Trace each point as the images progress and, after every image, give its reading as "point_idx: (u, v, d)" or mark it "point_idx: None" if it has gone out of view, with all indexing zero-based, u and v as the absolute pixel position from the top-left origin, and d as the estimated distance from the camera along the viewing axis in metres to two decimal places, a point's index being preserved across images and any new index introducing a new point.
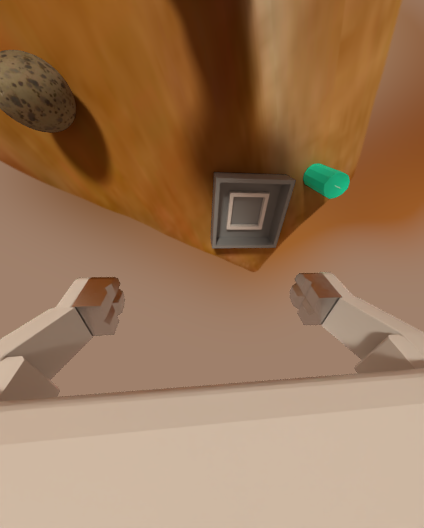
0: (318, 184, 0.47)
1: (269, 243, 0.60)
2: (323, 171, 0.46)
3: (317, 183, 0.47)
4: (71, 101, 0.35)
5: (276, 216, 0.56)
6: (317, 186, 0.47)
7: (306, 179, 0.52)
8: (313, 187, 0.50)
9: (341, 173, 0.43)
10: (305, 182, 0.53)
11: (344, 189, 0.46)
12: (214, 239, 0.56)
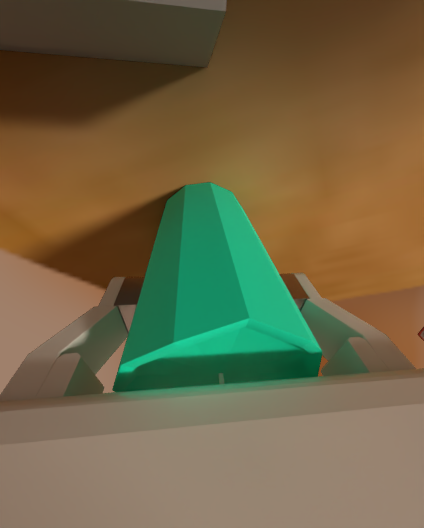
0: (203, 257, 0.06)
1: None
2: (268, 257, 0.08)
3: (208, 245, 0.06)
4: None
5: None
6: (188, 254, 0.06)
7: (192, 193, 0.11)
8: (168, 234, 0.08)
9: (308, 376, 0.06)
10: (177, 197, 0.11)
11: None
12: None
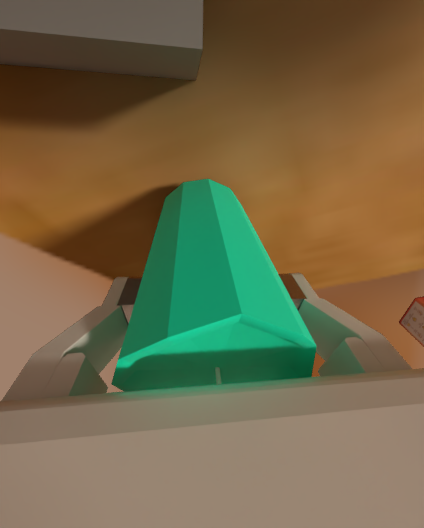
0: (199, 254, 0.06)
1: None
2: (265, 253, 0.08)
3: (204, 242, 0.06)
4: None
5: None
6: (184, 251, 0.06)
7: (190, 190, 0.11)
8: (165, 231, 0.08)
9: (303, 370, 0.06)
10: (175, 194, 0.11)
11: None
12: None
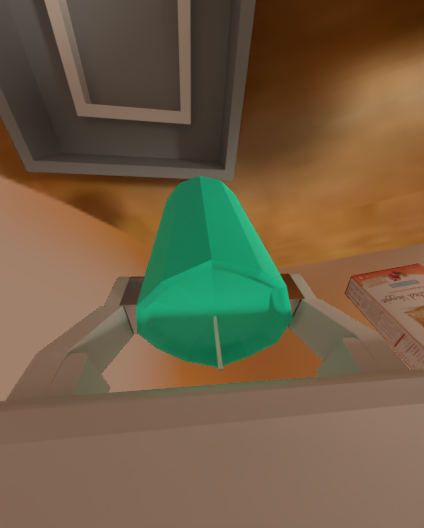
0: (187, 231, 0.08)
1: (35, 147, 0.18)
2: (247, 225, 0.09)
3: (191, 222, 0.08)
4: None
5: (131, 159, 0.21)
6: (176, 231, 0.08)
7: (184, 188, 0.12)
8: (165, 223, 0.10)
9: (284, 311, 0.07)
10: (173, 194, 0.13)
11: (208, 358, 0.09)
12: None
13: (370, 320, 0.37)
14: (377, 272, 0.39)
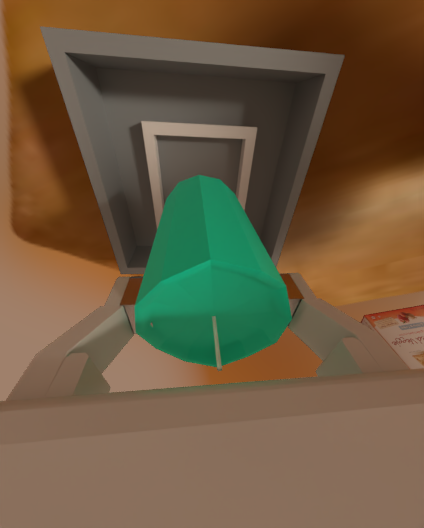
0: (186, 230, 0.07)
1: (127, 257, 0.24)
2: (246, 225, 0.09)
3: (190, 222, 0.08)
4: None
5: None
6: (175, 231, 0.08)
7: (183, 187, 0.12)
8: (164, 222, 0.10)
9: (284, 311, 0.07)
10: (172, 193, 0.13)
11: (207, 358, 0.09)
12: (95, 44, 0.12)
13: None
14: (388, 312, 0.44)
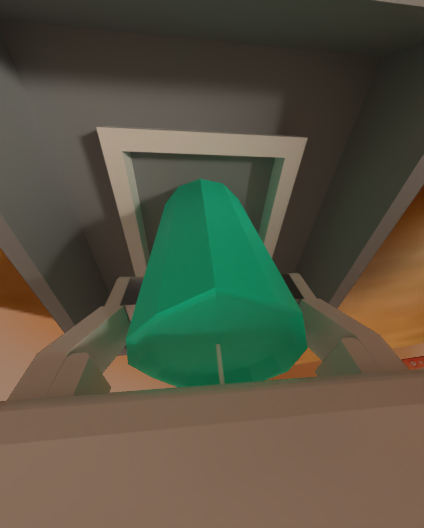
0: (186, 246, 0.07)
1: None
2: (254, 237, 0.08)
3: (191, 235, 0.07)
4: None
5: None
6: (174, 246, 0.07)
7: (183, 192, 0.11)
8: (162, 233, 0.09)
9: (298, 339, 0.06)
10: (171, 199, 0.12)
11: None
12: None
13: None
14: None
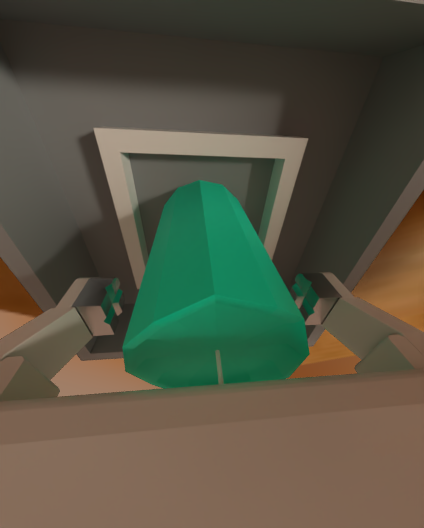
0: (184, 250, 0.06)
1: None
2: (254, 240, 0.08)
3: (189, 238, 0.07)
4: None
5: None
6: (172, 250, 0.07)
7: (182, 194, 0.11)
8: (161, 235, 0.09)
9: (300, 345, 0.06)
10: (170, 200, 0.12)
11: None
12: None
13: None
14: None
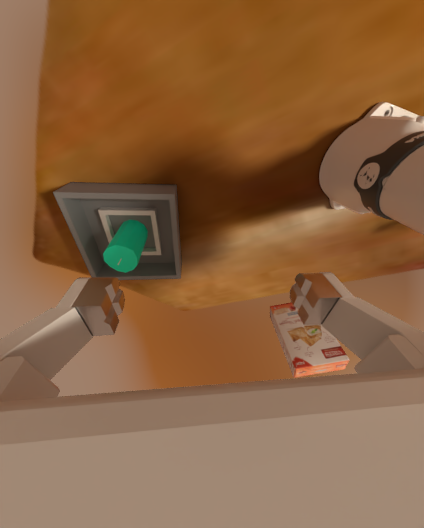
0: (115, 239, 0.35)
1: (96, 271, 0.44)
2: (133, 237, 0.36)
3: (117, 237, 0.35)
4: None
5: (135, 268, 0.47)
6: (113, 239, 0.35)
7: (123, 224, 0.40)
8: (114, 236, 0.37)
9: (135, 256, 0.35)
10: (120, 226, 0.41)
11: (123, 270, 0.36)
12: (73, 195, 0.32)
13: (277, 334, 0.62)
14: (285, 304, 0.64)
